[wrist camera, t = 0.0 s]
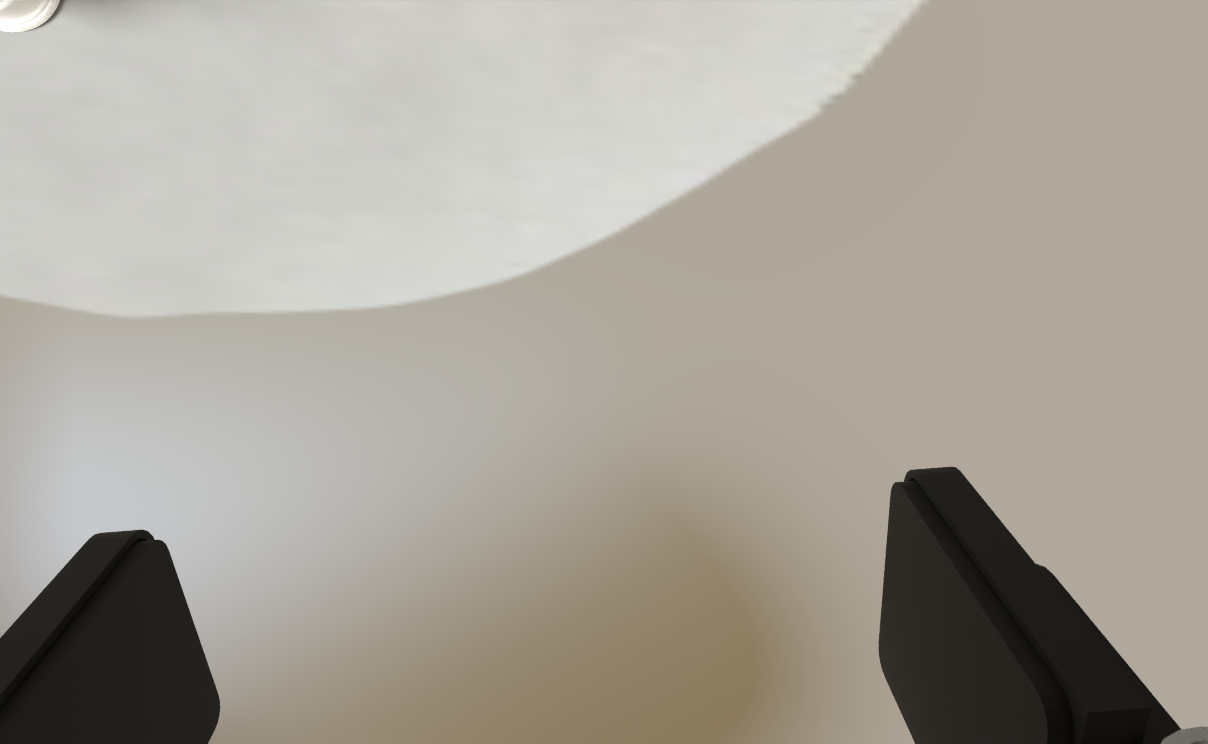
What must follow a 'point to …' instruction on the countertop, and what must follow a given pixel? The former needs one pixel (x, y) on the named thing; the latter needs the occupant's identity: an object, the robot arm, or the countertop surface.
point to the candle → (25, 14)
